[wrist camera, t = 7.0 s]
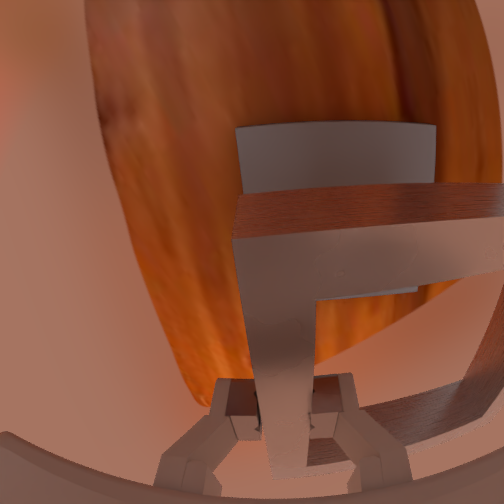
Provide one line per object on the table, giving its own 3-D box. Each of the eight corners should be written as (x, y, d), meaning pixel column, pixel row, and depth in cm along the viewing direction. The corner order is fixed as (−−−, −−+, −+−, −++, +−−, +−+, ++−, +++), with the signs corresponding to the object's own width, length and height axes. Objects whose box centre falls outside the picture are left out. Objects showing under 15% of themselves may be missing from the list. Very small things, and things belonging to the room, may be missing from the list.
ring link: (238, 194, 8) (231, 239, 6) (543, 185, 8) (590, 212, 5) (271, 433, 14) (273, 479, 12) (471, 388, 14) (489, 422, 11)
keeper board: (237, 127, 25) (221, 138, 18) (428, 123, 23) (475, 137, 16) (258, 295, 33) (253, 347, 26) (412, 283, 31) (437, 329, 24)
